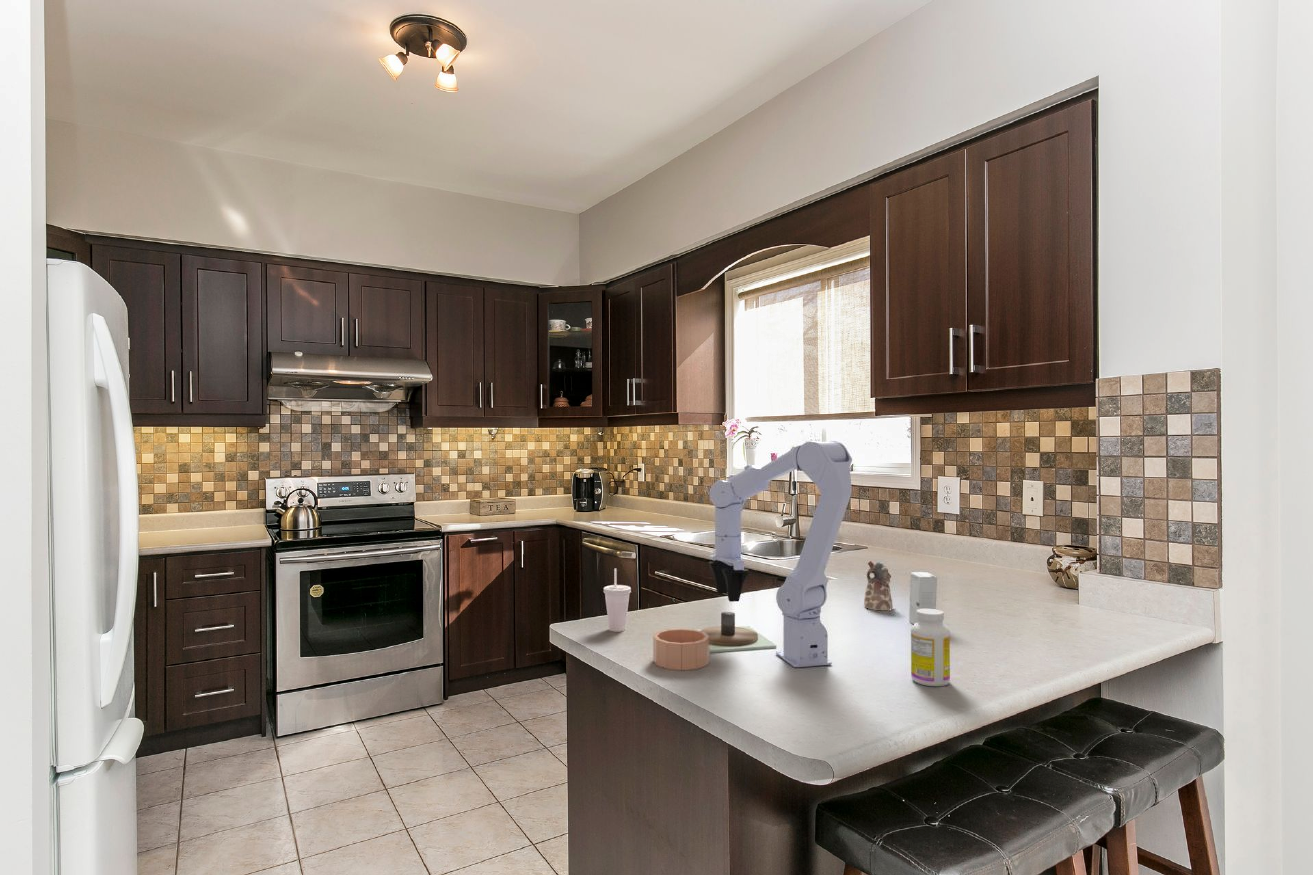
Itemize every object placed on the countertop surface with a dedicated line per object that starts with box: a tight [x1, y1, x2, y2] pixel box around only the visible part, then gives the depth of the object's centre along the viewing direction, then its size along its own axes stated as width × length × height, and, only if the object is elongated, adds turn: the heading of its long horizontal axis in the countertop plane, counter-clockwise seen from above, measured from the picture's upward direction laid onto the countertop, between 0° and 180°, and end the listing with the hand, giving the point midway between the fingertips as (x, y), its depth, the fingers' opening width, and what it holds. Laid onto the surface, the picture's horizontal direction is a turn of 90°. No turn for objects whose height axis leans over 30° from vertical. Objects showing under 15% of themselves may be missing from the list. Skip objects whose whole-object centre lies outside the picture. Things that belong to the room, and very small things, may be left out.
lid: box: [700, 611, 758, 646], centre depth 160 cm, size 13×13×5 cm
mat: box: [695, 625, 777, 654], centre depth 160 cm, size 16×16×1 cm
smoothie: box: [603, 568, 632, 633], centre depth 168 cm, size 6×6×14 cm
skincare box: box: [908, 571, 938, 625], centre depth 172 cm, size 6×4×12 cm
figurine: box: [863, 560, 894, 611], centre depth 189 cm, size 7×7×12 cm
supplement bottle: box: [910, 608, 951, 687], centre depth 133 cm, size 7×7×13 cm
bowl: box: [652, 628, 710, 671], centre depth 145 cm, size 11×11×5 cm
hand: (727, 597), depth 160 cm, fingers open, 7 cm apart
